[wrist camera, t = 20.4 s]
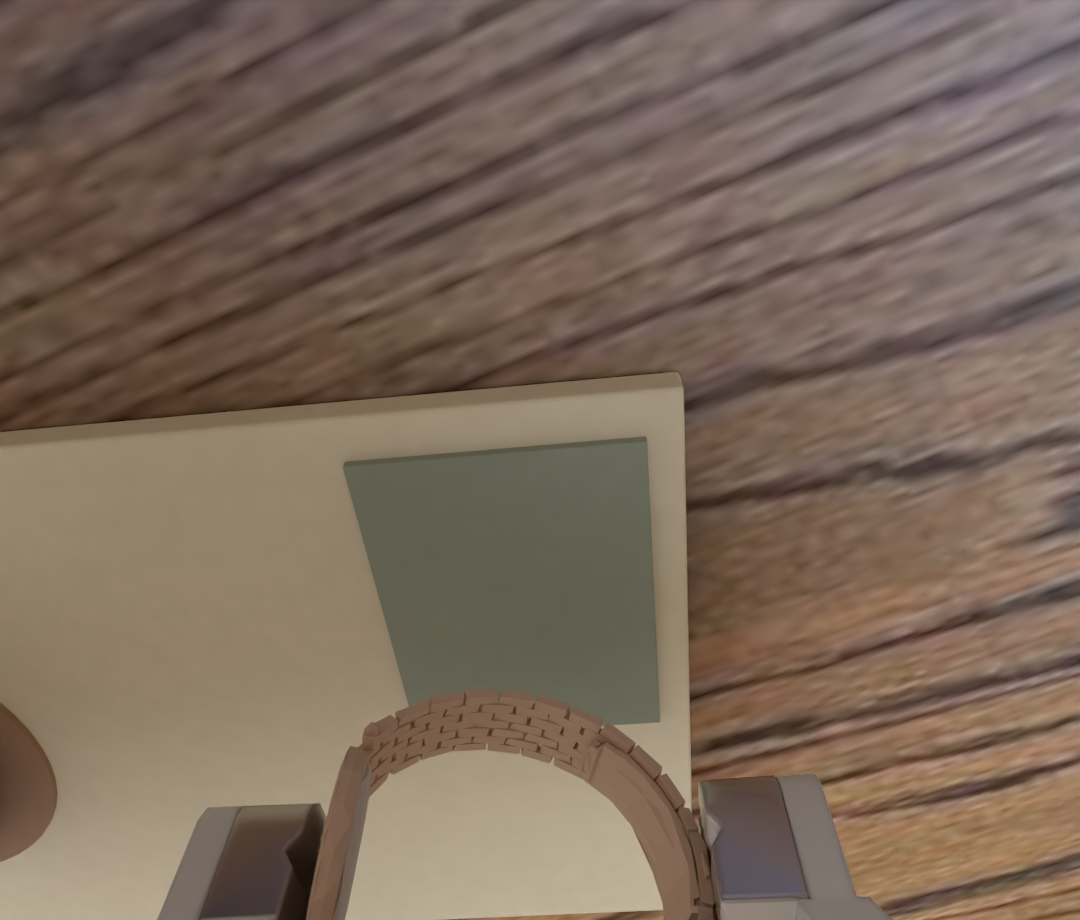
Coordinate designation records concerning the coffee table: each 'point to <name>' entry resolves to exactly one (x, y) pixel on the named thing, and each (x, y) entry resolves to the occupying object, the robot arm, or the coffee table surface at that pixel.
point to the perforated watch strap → (579, 752)
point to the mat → (339, 637)
